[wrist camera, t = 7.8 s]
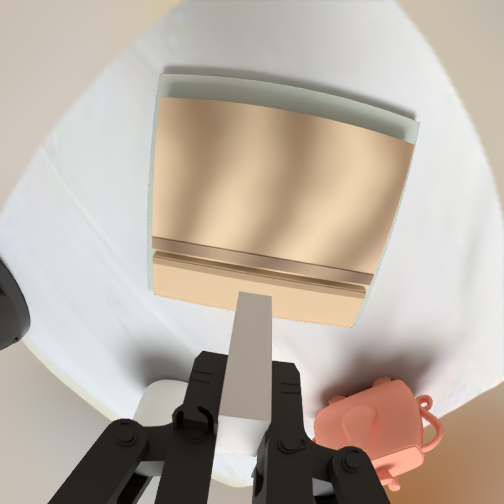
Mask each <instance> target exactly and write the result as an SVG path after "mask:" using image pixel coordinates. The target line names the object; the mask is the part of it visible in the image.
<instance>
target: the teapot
mask: <svg viewBox="0 0 504 504" xmlns="http://www.w3.org/2000/svg"><path fill="white" fill-rule="evenodd" d="M422 403H427V406H425V407H422V406H421V404H422ZM328 404H329V406H327V407H325V408H323V409H321V410H320V411H319V412H318V414H317V416H316V419H315V422H314V433H315V437H314V438H313V439H312V441H313V442H315V443H316V444H318V445H321V446H324V447H327V448H331V449H334V450H339V449H341V448H343V447H345V446H355V447H358V448H360V449H362V450H363V451H365V452H366V453H367V455H368V456H369V458H370V460H371V462H372V464H373V466H374V469H375V471H376V473H377V475H378V477H379V479H380V482H381V484H382V486H383V485H386V484H388V486H389V488H390V489H391V490H392V491H397V490H399V489H400V484H399V481H398V475H399V474H402V473H404V472H406V471H409V470H411V469H413V468H415V467H417V466H419V465H421V464H422V463H423V461H424V452H427V451H429V450H431V449H433V448H434V447H435V446H436V445H437V444H438V443H439V442H440V440H441V438H442V436H443V432H444V430H443V425H442V423H441V422H440V420H439V419H438V418H436V417H435V416H434V415H433V414H431V413H430V412H428V410H429V409H430V408H431V407H432V399H431V397H430V396H428V395H421V396H419V397H417V398H416V399H415V397H414V395H413V393H412V391H411V390H410V388H409V387H408V386H407V385H406V384H405V383H404V382H403V381H402V380H393V381H391V379H390V377H380V378H378V379H376V380H375V381H374V382H373V384H372V388H369V389H367V390H364V391H361V392H359V393H356V394H354V395H351V396H349V397H347V398H346V397H345V396H340V395H339V396H334V397H332V398H330V399H329V400H328ZM421 416H422V417H423V418H424V419H426V420H427V421H429V422H430V423H431V424H432V425H433V426H434V427H435V429H436V431H437V434H436V436H435V438H434V439H433V440H432V441H430V442H429V443H427V444H424V431H423V423H422V418H421Z"/></svg>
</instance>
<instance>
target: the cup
mask: <svg viewBox="0 0 504 504" xmlns="http://www.w3.org/2000/svg"><path fill="white" fill-rule="evenodd" d="M187 386H188V383H186V382H182V381H178V380H168V379H167V380H159V381H155V382H153V383H151V384H150V385H149V386H148V387H147V388H146V389H145V391H144V393H143V396H142V398H141V400H140V403H139V405H138V408H137V410H136V413H135V415H134V417H133V420H134V421H137V422H138V423H139V424H141V425H142V426H162V425H166V424H169V423H171V422H172V414H173V412H174V410H175V409H176V408H177V407H179V406H180V405H181V404H183V401H184V397H185V393H186V390H187Z"/></svg>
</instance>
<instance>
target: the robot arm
mask: <svg viewBox="0 0 504 504" xmlns="http://www.w3.org/2000/svg"><path fill="white" fill-rule="evenodd" d="M29 327H30V317H29V312H28V309H27V306H26V303H25V300H24V298H23V296H22V294H21V292H20V290H19V288H18V286H17V284H16V282H15V281H14V279H13V278H12V276H11V275H10V273H9V272H8V270H7V269H6V268H5V267H4V265H3V264H2V263H1V262H0V350H2V349H4V348H6V347H8V346H10V345H12V344H13V343H16V342H18V341H19V340H21V339H22V337H23V336H24V335H25V334H26V333H27V332H28V330H29ZM300 385H301V383H300V373H299V371H298V370H297V368H296V366H295V364H294V363H288V362H279V361H272V296H267V295H261V294H254V293H248V292H241V291H239V294H238V300H237V306H236V312H235V318H234V324H233V330H232V336H231V342H230V348H229V354H228V355H224V354H218V353H213V352H207V351H202V352H201V353H200V354H199V355H198V356H197V357H196V359H195V361H194V364H193V368H192V372H191V375H190V379H189V382H188V386H187V390H186V393H185V397H184V401H183V404H181V405H180V406H179V407H177V408H176V409H175V410H174V412H173V414H172V422H171V423H169V424H166V425H162V426H142V425H141V424H139V423H138V422H137V421H134V420H131V419H118V420H115V421H113V422H112V423H111V424H109V425H108V427H107V428H106V429H105V430H104V432H103V433H102V434H101V435H100V437H99V438H98V439H97V441H96V442H95V443H94V444H93V446H92V447H91V448H90V449H89V451H88V452H87V453H86V455H85V456H84V457H83V458H82V460H81V461H80V462H79V464H78V465H77V466H76V468H75V469H74V470H73V471H72V473H71V474H70V476H69V477H68V478H67V479H66V480H65V482H64V483H63V484H62V486H61V487H60V488H59V489H58V491H57V492H56V493H55V495H54V496H53V497H52V499H51V500H50V501H49V502H48V504H137V502H138V500H139V499H140V497H141V495H142V494H143V492H144V491H145V489H146V487H147V486H148V484H149V483H150V481H151V479H152V478H153V476H161V478H160V482H159V486H158V491H157V495H156V499H155V503H154V504H207V500H208V493H209V487H210V480H211V473H212V466H213V460H214V453H215V452H221V453H228V454H235V455H243V456H253V457H256V455H257V464H256V466H255V468H254V470H253V472H252V475H251V477H252V478H254V481H253V496H252V504H390V501H389V499H388V497H387V495H386V493H385V491H384V488H383V486H382V484H381V482H380V479H379V477H378V475H377V473H376V471H375V469H374V466H373V464H372V462H371V460H370V458H369V456H368V455H367V453H366V452H365V451H363V450H362V449H360V448H358V447H355V446H345V447H343V448H341V449H339V450H334V449H331V448H327V447H324V446H321V445H318V444H316V443H315V442H313V441H312V440H311V439H310V438H309V437H308V436H307V434H306V432H305V430H304V423H303V408H302V395H301V386H300Z"/></svg>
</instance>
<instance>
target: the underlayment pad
mask: <svg viewBox="0 0 504 504" xmlns="http://www.w3.org/2000/svg"><path fill="white" fill-rule="evenodd" d="M160 97H171V98H190V99H204V100H215V101H225V102H234V103H242V104H250V105H257V106H264V107H270V108H276V109H282V110H287V111H293V112H298V113H303V114H308V115H312V116H317V117H321V118H326V119H330V120H334V121H338V122H342V123H346V124H350V125H354V126H357V127H361V128H365V129H368V130H372V131H375V132H378V133H381V134H385V135H388V136H391V137H394V138H397V139H400V140H403V141H406V142H409V143H412V144H415V145H416V140H417V136H418V131H419V125H420V122H417V121H415V120H412V119H410V118H407V117H404V116H401V115H398V114H396V113H393V112H390V111H387V110H384V109H381V108H377V107H374V106H371V105H368V104H364V103H361V102H357V101H354V100H350V99H347V98H343V97H339V96H335V95H331V94H327V93H322V92H318V91H313V90H309V89H304V88H299V87H294V86H288V85H283V84H277V83H270V82H264V81H257V80H249V79H240V78H231V77H220V76H207V75H188V74H160V79H159V86H158V93H157V100H156V108H155V117H154V126H153V136H152V147H151V160H150V175H149V195H148V288H149V290H150V291H154V295H157V296H161V297H166V298H171V299H175V300H180V301H185V302H190V303H195V304H200V305H205V306H210V307H216V308H221V309H227V310H232V311H236V306H237V300H238V294H239V291H241V292H248V293H254V294H261V295H267V296H272V317H274V318H281V319H287V320H294V321H301V322H308V323H316V324H323V325H331V326H340V327H348V328H351V327H352V325H357V323H358V321H359V318H360V316H361V314H362V311H363V309H364V307H365V304H366V302H367V299H368V297H369V294H370V292H371V289H372V287H373V284H374V282H375V279H376V276H377V274H378V271H379V268H380V266H381V263H382V260H383V257H384V255H385V252H386V249H387V246H388V243H389V240H390V237H391V234H392V231H393V228H394V224H395V221H396V218H397V215H398V211H399V208H400V205H401V201H402V198H403V194H404V190H405V187H406V183H407V179H408V175H409V171H410V167H411V163H412V159H413V154H414V150H415V145H414V149H413V153H412V157H411V161H410V165H409V169H408V173H407V176H406V180H405V183H404V187H403V190H402V194H401V197H400V201H399V204H398V207H397V210H396V213H395V217H394V220H393V223H392V226H391V229H390V232H389V234H388V237H387V240H386V243H385V246H384V249H383V251H382V254H381V257H380V259H379V262H378V265H377V267H376V270H375V273H374V277H373V279H372V282H371V284H370V285H369V287H367V286H361V285H354V284H348V283H342V282H335V281H329V280H323V279H317V278H311V277H305V276H299V275H293V274H287V273H281V272H275V271H269V270H263V269H257V268H251V267H245V266H240V265H234V264H228V263H222V262H217V261H211V260H206V259H200V258H194V257H189V256H183V255H178V254H172V253H167V252H161V251H156V250H153V248H152V215H153V179H154V160H155V145H156V132H157V121H158V111H159V102H160Z"/></svg>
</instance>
